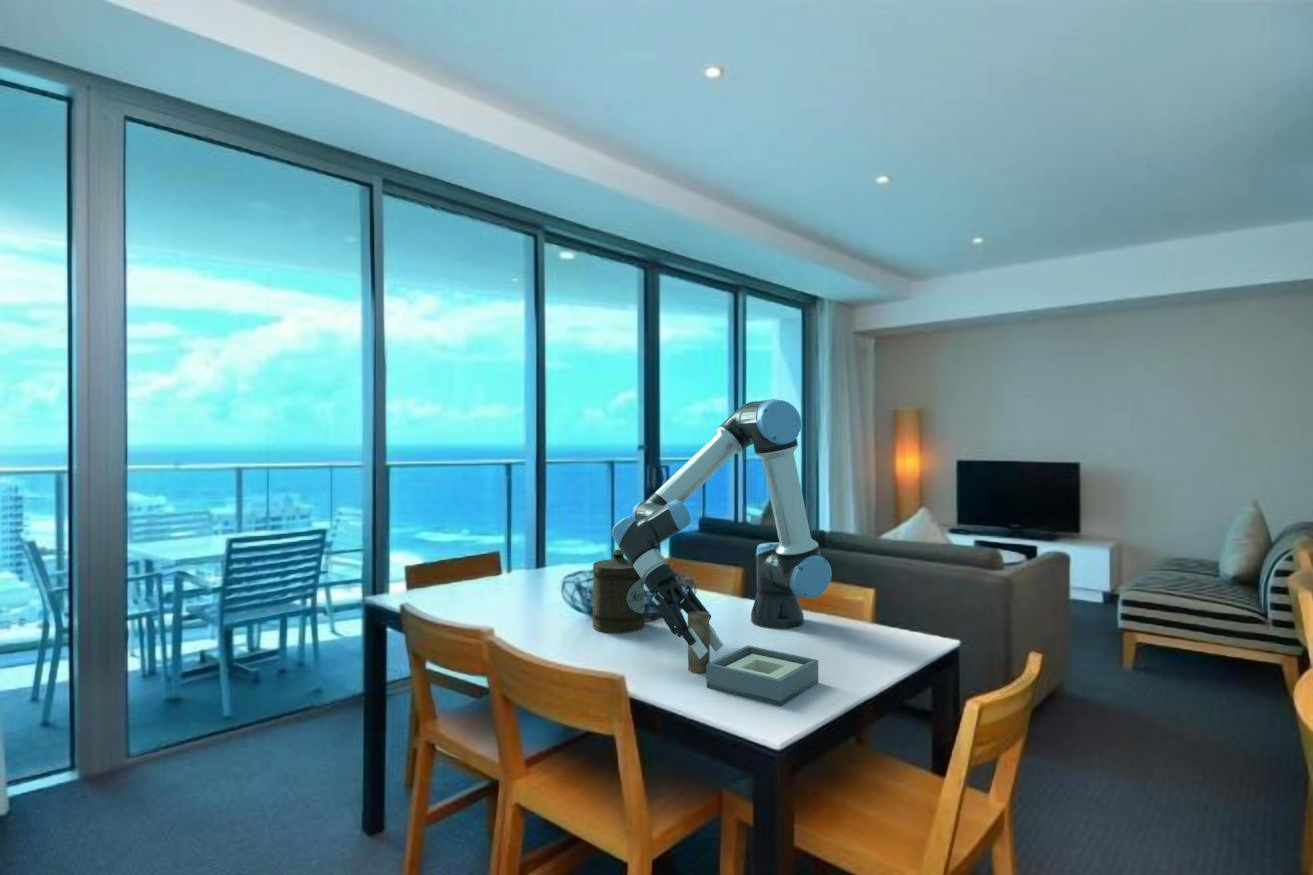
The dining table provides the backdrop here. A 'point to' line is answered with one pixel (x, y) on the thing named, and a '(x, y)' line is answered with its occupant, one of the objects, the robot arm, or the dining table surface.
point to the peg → (701, 628)
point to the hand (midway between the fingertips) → (711, 651)
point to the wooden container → (617, 596)
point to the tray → (760, 681)
